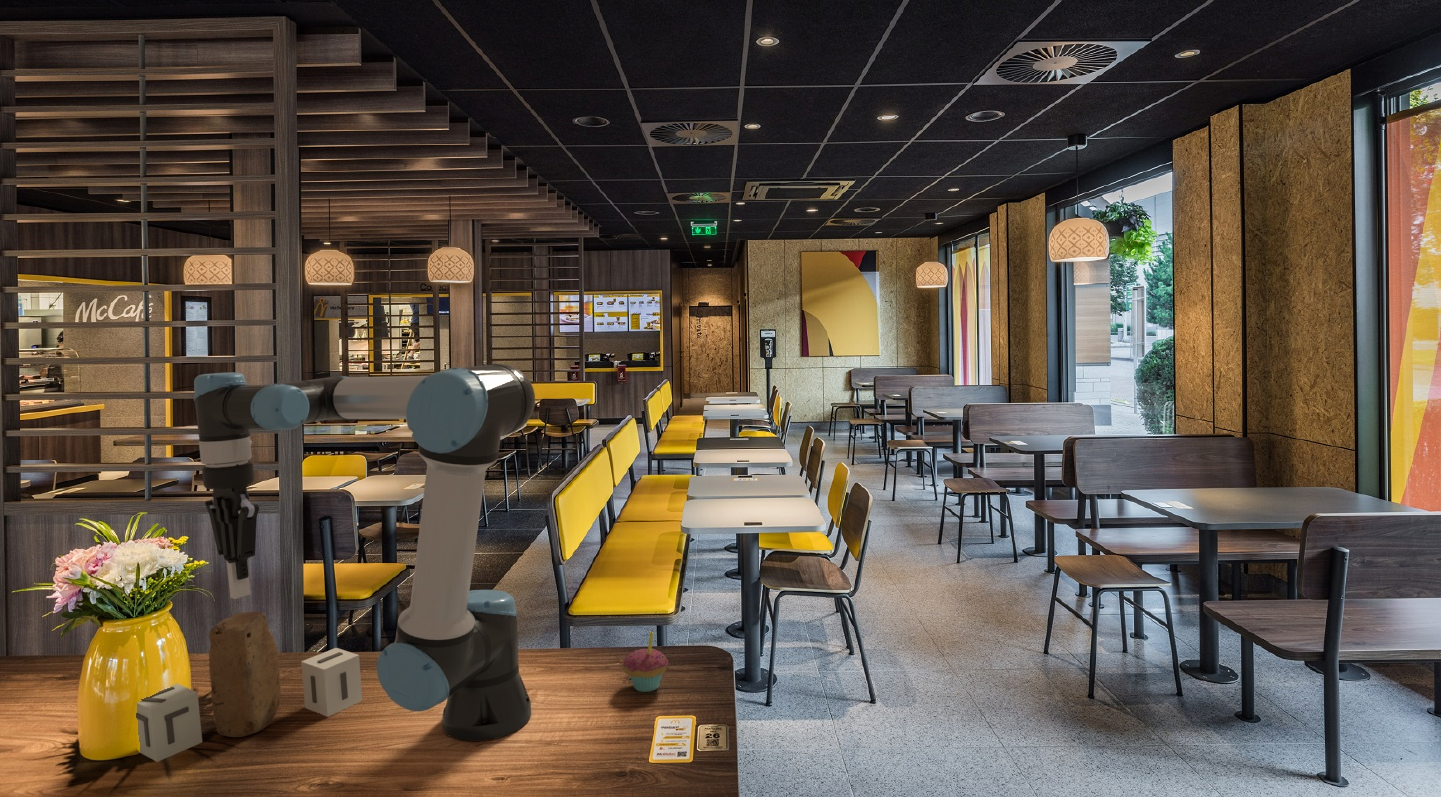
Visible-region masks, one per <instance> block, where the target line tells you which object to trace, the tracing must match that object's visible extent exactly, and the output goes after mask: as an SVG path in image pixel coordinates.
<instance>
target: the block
mask: <svg viewBox="0 0 1441 797" xmlns="http://www.w3.org/2000/svg"><path fill="white" fill-rule="evenodd" d="M208 638H209V641H210V647H209V650H208V662H209V663H208V664H209V665H208V666H209V668H208V670H209V681H210V682H209V683H210V688H211V689H210V691H211V692H210V694H211V695H210V696H211V697H210V698H211V703H212V713H213V718H214V722H215V726H216V731H217V733H218V734H219V735H220V736H225V737H230V738H243V737H246V736H249V735H253V734H256V733H258V732H261V731H263V730H264V729H265V728H267V727H268V726H270V724H271V722H272V721H273V720H274V718H275V716H276V714H277V712H278V709H279V705H280V704H281V703H280V702H281V694H282V693H281V692H282V691H281V688H282V687H281V678H280V677H281V674H280V662H279V655H278V649H277V645H276V641H275V637H274V635H273V634H272V631H271V630H270V629H269V624H268V619H267V615H266V614H265V613H264V612H261V611H258V610H256V611H245V612H235V613H234V614H232V615H230V616H229V617H227V618H224V619H222V620H220V621H219V622H218V623H217V624H215V625H214V626H213V627H212V629H210V631H209V633H208Z"/></svg>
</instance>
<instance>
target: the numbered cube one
mask: <svg viewBox="0 0 1441 797" xmlns="http://www.w3.org/2000/svg"><path fill="white" fill-rule="evenodd" d="M360 665H361V664H360V655H359V654H357V653H354V652H350V651H347V650H344V649H341V648H338V647H334V648H332V649H330V650H328V651H324V652H322V653H319V654H317V655H315V656H311V657H309V658H307V659H304V660H302V661H301V665H300V666H301V673H302V675H301V676H302V687H303V688H302V689H303V699H304V709H307V710H310V711H311V712H314V711H315V713H316V712H317V713H316V714H319V713H320V714H319V715H321V714H322V716H325V717H327V718H329V717H331V716H333V715H335V714H338V713H339V711H340V712H342V711H344V710H346V709H349V708H350V707H352V706H355V705H357V704H359V703H361V702H362V701H363V693H362V692H363V690H362V676H361V666H360ZM354 704H355V705H354Z"/></svg>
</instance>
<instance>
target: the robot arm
mask: <svg viewBox="0 0 1441 797" xmlns="http://www.w3.org/2000/svg"><path fill="white" fill-rule="evenodd" d="M245 378H246V377H245V376H244V374H243V373H241V372H230V371H229V372H218V373H217V372H216V373H215V372H214V373H205V374H199V375H197V376H196V377H194V380H193V386H194V387H193V390H194V393H193V394H194V397H193V402H194V407H195V408H194V409H195V414H196V423H197V432H198V440H199V441H198V444H199V445H198V447H199V455H200V456H199V457H200V463H201V464H202V465H204V466H203V467H202V468H201V472H202V482H203V487H204V488H205V489H207V490H212V499H209V500H205V501H204V504H205V507H206V511H207V512H208V514H209V520H210V523H211V529H212V533H213V536H214V541H215V544H216V550H217V554H218V556H223V559H224V560H225V561H226V568H227V578H228V587H229V598H230V599H234V600H237V599H240V598H244V597H246V596H249V595H250V596H251V594H252V593H251V583H250V574H249V572H250V571H249V562H248V559H250V558H252V557H255V556H256V544H257V543H256V541H257V540H256V538H257V521H258V520H257V517H258V514H259V510H260V506H259V505H258V504H257V503H255V504H252V503H251V502H250V501H249V500H250V495H249V492H248V486H249V485H251V484H253V483H254V482H255V474H254V473H255V472H254V464H253V463H254V462H253V463H252V461H250V459H252V458H253V455H252V454H253V453H252V445H253V441H252V440H251V430H258V431H259V430H260V431H261V430H262V431H263V430H264V431H272V432H280V431H288V430H294V429H297V428H299V427H300V426H301V425H304V424H310V423H313V422H321V421H327V420H328V421H331V420H406V424H407V427H408V430H409V431H411V432H412V434H411V437H412V438H413V440H414V441H415V442H416V443H417V445H418V449H417V450H418V452H417V454H418V456H420V457H421V459H422V460H424V461H425V463H426V471H425V472H426V474H425V479H424V480H425V482H424V489H423V499H422V506H421V513H420V523H419V530H418V539H417V547H416V553H415V555H416V556H415V563H414V571H413V580H412V589H411V597H410V604H409V606H408V607H407V608H405V609H404V610H403V611H402V612H400V614H399V615H398V619H397V627H396V633H395V639H394V642H391V643H390V644H388V645H387V646H385V648H384V649H383V650H382V651H381V652H380V654H379V655H378V658H377V662H376V673H377V678H378V682H379V684H380V686H381V688H382V689H383V691H384V692H385V693H386V694H387V697H389V699H390V700H391V701H392V702H394V703H395V704H396V705H397V706H399V707H401V708H403V709H404V710H407V711H411V712H426V711H428V710H430V709H432V708H434V707H436V706H437V705H439V704H442V703H443V702H445V701H446V704H445V706H444V708H443V712H442V717H441V718H442V728H443V732H444V733H445V734H446V735H447V736H448V737H450V738H453V739H455V740H459V741H465V742H479V741H480V742H482V741H490V740H495V739H498V738H499V739H500V738H502V737H505V736H508V735H510V734H513V733H515V732H516V731H518V730H520V729H522V728H523V727H525V725H526V724H527V723H528V722H529V721H530V719H531V717H532V702H531V698H530V696H529V694H528V691H527V689H526V686H525V683H524V681H523V679H522V676H521V674H520V664H519V642H518V626H517V622H518V621H517V616H518V613H517V608H516V602H515V598H514V597H513V595H511V594H510V593H508V592H507V591H504V590H503V591H502V590H495V589H475V590H474V589H472V590H470V588H471V583H472V574H473V568H474V567H473V566H474V560H475V553H476V544H477V539H478V538H477V537H478V530H479V521H480V515H481V508H482V502H483V500H482V499H483V492H484V486H485V479H486V470H487V469H489V468H490V467H492V466H493V465H494V464H495V463H496V462H497V461H498V458H499V450H500V443H501V439H502V438H501V437H505V436H507V435H510V434H513V433H515V432H517V431H519V430H520V429H521V428H523V427H524V426H525V425H526V424H527V423H528V421H529V420H530V418H531V417H532V415H533V412H534V409H535V406H536V405H535V404H536V393H535V390H534V386H533V384H532V382H531V381H530V379H529V377H528V376H527V375H525V373H524V372H523V371H521V370H520V369H518V368H517V367H515V366H512V365H509V364H504V363H490V364H484V365H474V366H466V367H458V366H457V367H450V368H447V369H443V370H441V371H438V372H434V373H432V374H429V375H405V376H403V375H402V376H401V375H399V376H396V375H395V376H360V377H359V376H356V377H355V376H353V377H352V376H351V377H350V376H345V375H343V376H342V375H333V376H326V377H322V378H315V379H308V380H297V381H289V382H288V381H287V382H277V383H270V384H268V383H267V384H249V385H248V384H247V382H246V379H245Z"/></svg>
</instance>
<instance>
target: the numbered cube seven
mask: <svg viewBox="0 0 1441 797" xmlns="http://www.w3.org/2000/svg"><path fill="white" fill-rule="evenodd" d="M174 684H175V685H173V684H172V685H173V686H171V685H170V686H171V687H170V688H167V689H164V690H162V691H159V692H158V693H156V694H154V695H152V696H150V697H146V698H144V699H141V700H142V701H140V702H137V713H136V718H137V720H138V735H139V742H140V752H139V754H142V755H143V756H146V757H147V758H149V759H152V761H155V762H157V763H158V762H160V761H163V760H165V759H167V758H170V757H172V756H174V755H177V754H178V753H181V752H183V751H186V750H188V749H190V748H194V747H195V746H197V745H200V744H201V743H203V735H202V725H201V715H200V706H199V705H200V704H199V696H198V693H199V692H198V691H195V690H193V689H192V688H188V687H186V686H184V685H181V684H179V683H174Z"/></svg>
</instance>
